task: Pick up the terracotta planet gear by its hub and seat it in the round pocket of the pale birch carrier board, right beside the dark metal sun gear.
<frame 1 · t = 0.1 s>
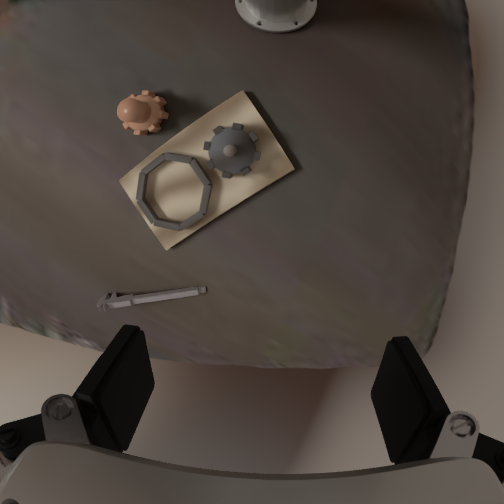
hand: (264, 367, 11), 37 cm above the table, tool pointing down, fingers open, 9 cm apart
carrier: (202, 172, 45), on the table
caliper: (153, 291, 53), on the table
planet gear: (148, 114, 42), on the table
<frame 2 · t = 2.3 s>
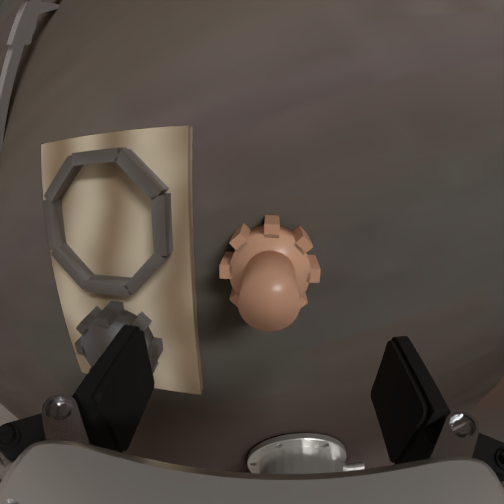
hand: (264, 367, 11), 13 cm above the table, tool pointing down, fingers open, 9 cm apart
carrier: (119, 273, 25), on the table
caliper: (24, 77, 20), on the table
planet gear: (270, 259, 24), on the table
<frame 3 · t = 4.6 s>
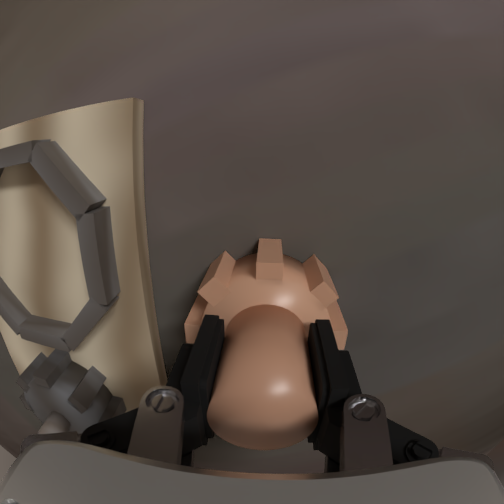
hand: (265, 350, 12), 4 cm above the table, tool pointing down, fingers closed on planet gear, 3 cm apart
carrier: (62, 313, 16), on the table
planet gear: (267, 304, 15), on the table, touching gripper
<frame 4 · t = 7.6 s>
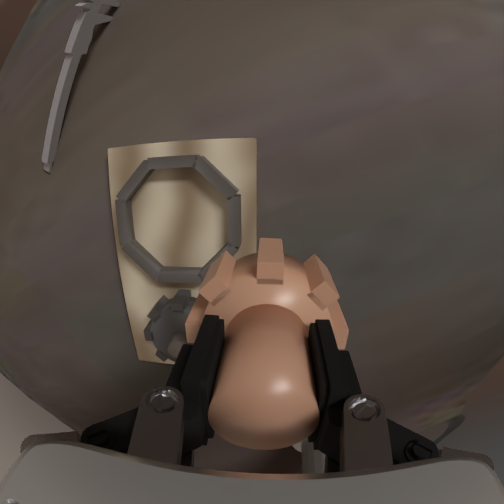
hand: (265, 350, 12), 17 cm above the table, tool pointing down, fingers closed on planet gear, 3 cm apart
carrier: (186, 265, 30), on the table
caliper: (78, 85, 25), on the table
planet gear: (267, 304, 15), point 14 cm above the table, touching gripper
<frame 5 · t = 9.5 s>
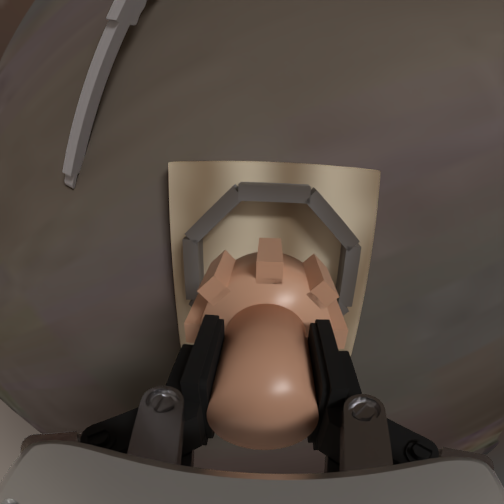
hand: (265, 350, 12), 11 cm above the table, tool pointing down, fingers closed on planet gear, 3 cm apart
carrier: (268, 319, 24), on the table
caliper: (118, 68, 18), on the table
planet gear: (267, 303, 15), point 7 cm above the table, touching gripper
when the fingers open (6 cm above the table, at t = 11.1 s): planet gear stays where it is, resting on carrier.
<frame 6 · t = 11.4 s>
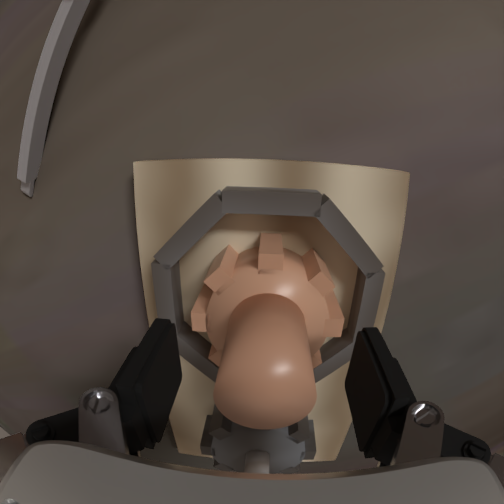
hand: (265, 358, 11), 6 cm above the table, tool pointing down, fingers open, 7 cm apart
carrier: (263, 354, 19), on the table
caliper: (81, 51, 13), on the table
planet gear: (268, 295, 16), point 1 cm above the table, touching carrier
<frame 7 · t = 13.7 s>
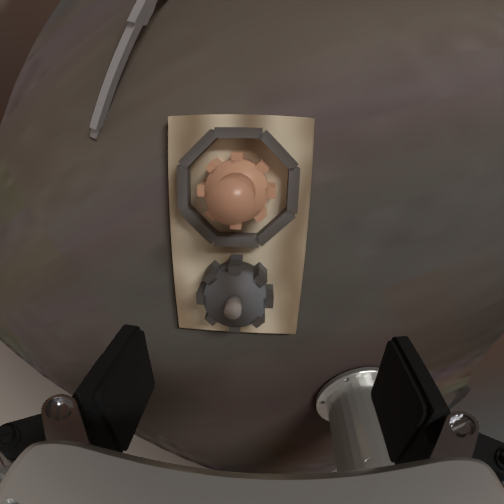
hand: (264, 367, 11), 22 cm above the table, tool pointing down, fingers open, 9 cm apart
carrier: (238, 231, 32), on the table
caliper: (133, 55, 25), on the table
planet gear: (238, 186, 29), point 1 cm above the table, touching carrier
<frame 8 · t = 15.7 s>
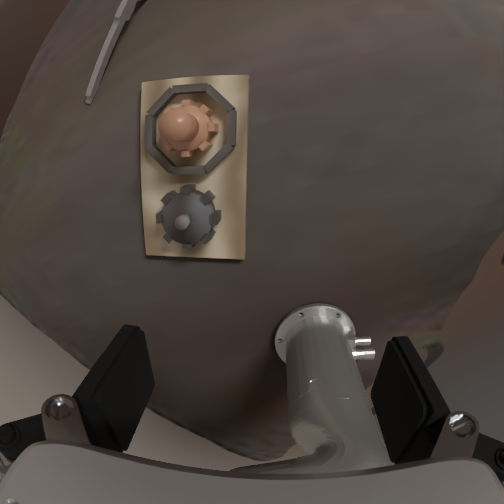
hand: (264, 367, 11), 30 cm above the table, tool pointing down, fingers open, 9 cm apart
carrier: (193, 167, 38), on the table
caliper: (119, 43, 32), on the table
planet gear: (191, 129, 35), point 1 cm above the table, touching carrier
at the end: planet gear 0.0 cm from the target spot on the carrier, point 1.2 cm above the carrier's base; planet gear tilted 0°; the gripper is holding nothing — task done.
